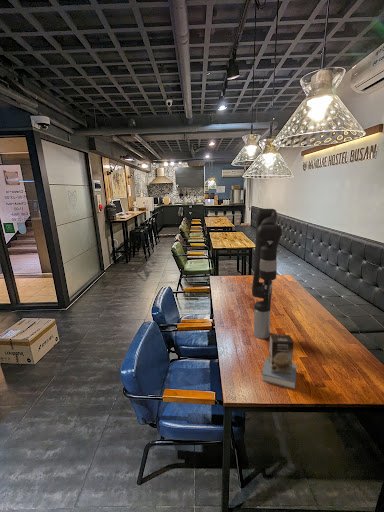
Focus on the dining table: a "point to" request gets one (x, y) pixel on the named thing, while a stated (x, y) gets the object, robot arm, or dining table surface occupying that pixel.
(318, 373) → the dining table surface
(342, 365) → the dining table surface
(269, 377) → the book
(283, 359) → the coffee box
